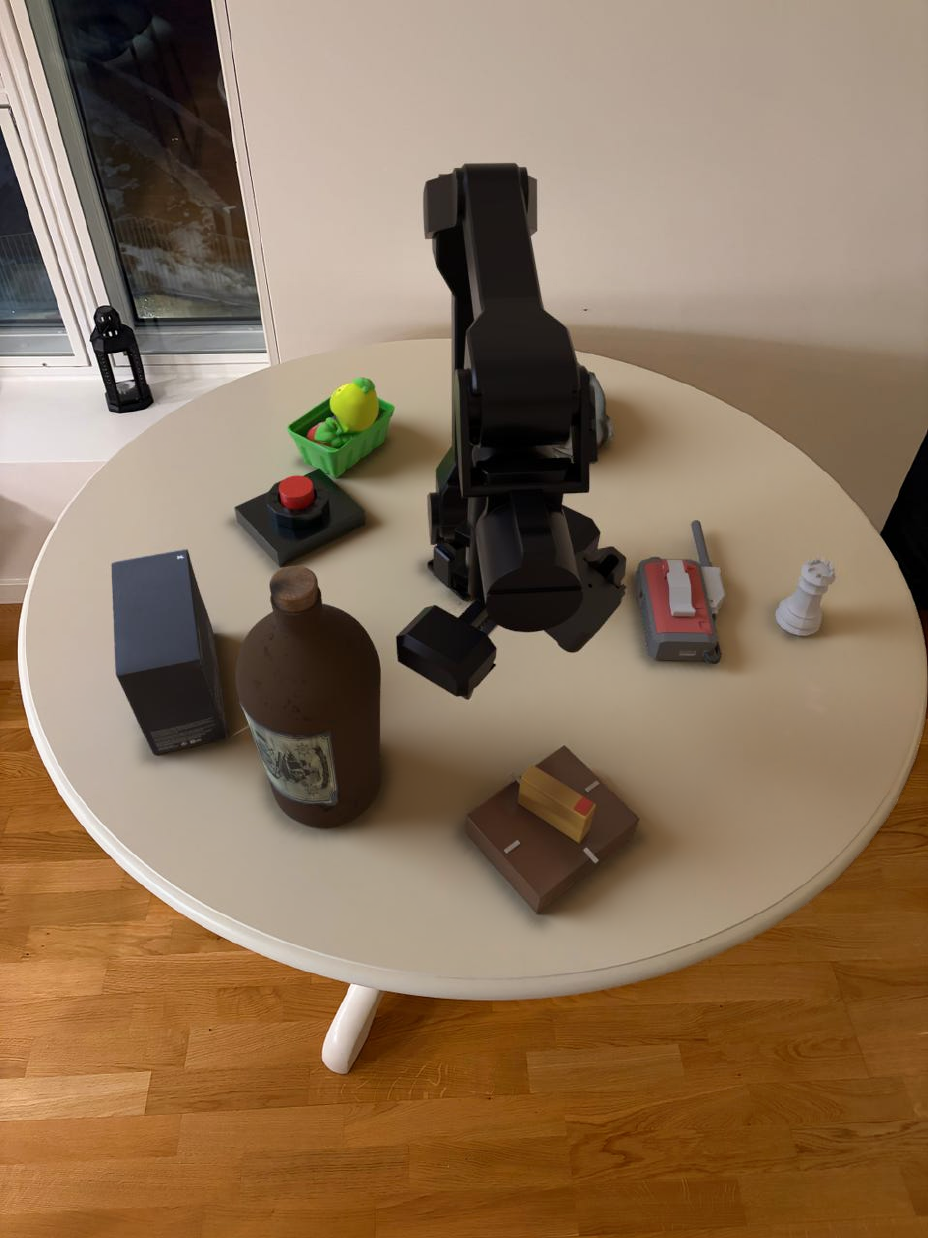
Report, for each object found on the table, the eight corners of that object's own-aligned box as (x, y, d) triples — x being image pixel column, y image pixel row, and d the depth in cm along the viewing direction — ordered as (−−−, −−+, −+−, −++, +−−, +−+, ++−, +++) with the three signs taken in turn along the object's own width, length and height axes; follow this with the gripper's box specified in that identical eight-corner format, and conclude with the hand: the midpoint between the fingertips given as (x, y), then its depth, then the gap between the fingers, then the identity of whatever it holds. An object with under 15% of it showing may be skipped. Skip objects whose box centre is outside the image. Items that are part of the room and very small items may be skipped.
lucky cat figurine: (621, 461, 108) (594, 396, 96) (526, 490, 111) (489, 430, 99) (600, 363, 114) (572, 289, 102) (510, 392, 117) (473, 325, 105)
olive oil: (302, 714, 83) (263, 510, 64) (407, 751, 80) (399, 551, 62) (242, 809, 76) (178, 614, 57) (355, 853, 74) (328, 664, 55)
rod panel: (556, 758, 80) (559, 739, 78) (639, 841, 75) (645, 822, 73) (460, 827, 76) (461, 808, 73) (541, 920, 70) (545, 903, 68)
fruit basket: (351, 417, 113) (344, 336, 104) (407, 444, 109) (405, 363, 101) (288, 463, 106) (275, 381, 98) (345, 493, 103) (337, 411, 95)
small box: (142, 646, 88) (108, 559, 79) (214, 632, 89) (189, 545, 80) (150, 758, 79) (114, 674, 70) (229, 740, 81) (203, 656, 72)
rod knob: (517, 803, 74) (520, 776, 71) (527, 789, 75) (532, 762, 71) (579, 844, 71) (586, 817, 68) (589, 829, 72) (596, 802, 69)
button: (303, 483, 99) (301, 470, 97) (321, 500, 97) (319, 488, 95) (274, 496, 97) (272, 483, 96) (292, 514, 95) (290, 501, 94)
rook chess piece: (820, 641, 90) (847, 587, 84) (774, 634, 91) (798, 579, 85) (817, 609, 93) (843, 554, 87) (773, 602, 93) (796, 547, 87)
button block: (321, 482, 104) (317, 455, 101) (365, 524, 100) (363, 497, 97) (237, 521, 100) (231, 494, 97) (279, 568, 95) (274, 540, 92)
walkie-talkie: (737, 672, 87) (702, 530, 100) (749, 643, 84) (711, 500, 97) (647, 670, 87) (623, 529, 100) (656, 641, 84) (630, 498, 97)
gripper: (535, 661, 53) (516, 794, 65) (679, 491, 63) (640, 633, 75) (387, 577, 57) (395, 716, 69) (544, 430, 67) (528, 574, 79)
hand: (497, 658), depth 73 cm, fingers open, 9 cm apart
